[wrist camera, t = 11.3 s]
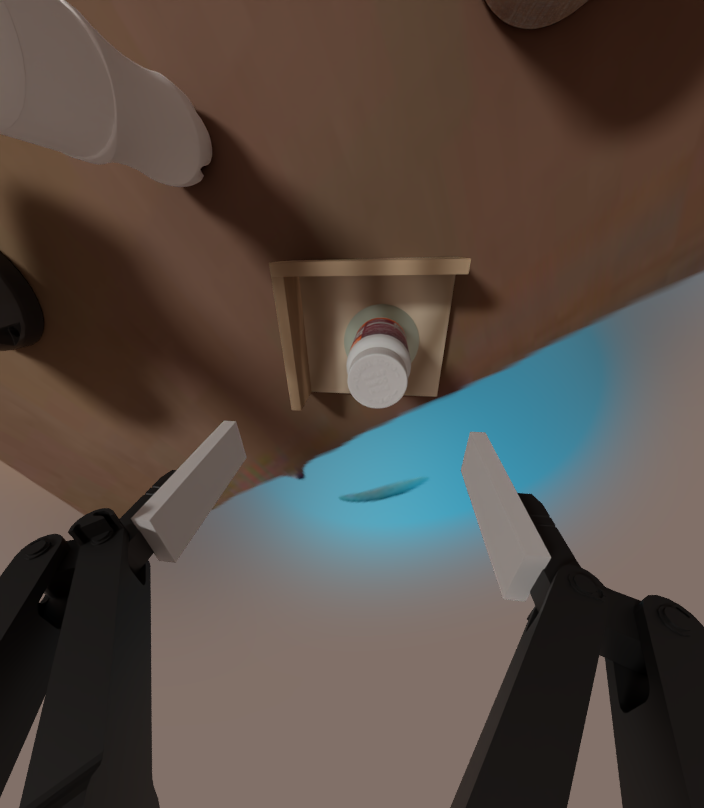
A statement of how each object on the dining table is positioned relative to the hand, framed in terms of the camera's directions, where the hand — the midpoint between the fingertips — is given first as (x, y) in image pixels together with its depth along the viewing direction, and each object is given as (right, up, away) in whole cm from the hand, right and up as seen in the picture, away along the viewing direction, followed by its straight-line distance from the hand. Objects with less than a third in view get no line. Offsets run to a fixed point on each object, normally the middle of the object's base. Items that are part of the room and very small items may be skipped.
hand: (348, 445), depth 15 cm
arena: (+2, +11, +17) cm, 21 cm away
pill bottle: (+4, +10, +17) cm, 20 cm away
